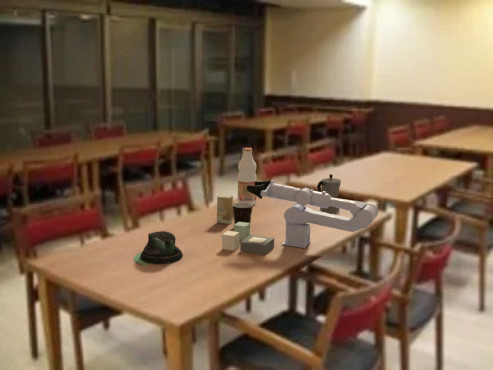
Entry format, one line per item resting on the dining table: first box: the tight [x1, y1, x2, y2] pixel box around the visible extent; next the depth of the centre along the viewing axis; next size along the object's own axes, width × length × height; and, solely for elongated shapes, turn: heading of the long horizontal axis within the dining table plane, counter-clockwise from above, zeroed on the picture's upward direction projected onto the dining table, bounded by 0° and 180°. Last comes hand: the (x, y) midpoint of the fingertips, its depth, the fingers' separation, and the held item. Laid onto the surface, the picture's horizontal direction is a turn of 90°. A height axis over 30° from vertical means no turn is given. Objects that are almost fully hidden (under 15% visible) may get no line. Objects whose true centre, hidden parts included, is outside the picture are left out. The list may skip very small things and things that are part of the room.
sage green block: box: [233, 222, 251, 241], centre depth 240 cm, size 5×5×6 cm
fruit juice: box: [237, 147, 258, 206], centre depth 290 cm, size 9×9×28 cm
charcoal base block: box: [239, 234, 275, 256], centre depth 227 cm, size 10×10×4 cm
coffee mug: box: [232, 202, 254, 225], centre depth 252 cm, size 12×9×10 cm
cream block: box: [221, 230, 240, 252], centre depth 228 cm, size 5×5×6 cm
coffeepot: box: [316, 173, 342, 214], centre depth 278 cm, size 15×9×18 cm, turn 129°
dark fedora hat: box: [133, 230, 184, 267], centre depth 217 cm, size 20×20×9 cm
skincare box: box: [216, 194, 234, 225], centre depth 260 cm, size 6×4×12 cm
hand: (250, 186), depth 236 cm, fingers open, 7 cm apart
